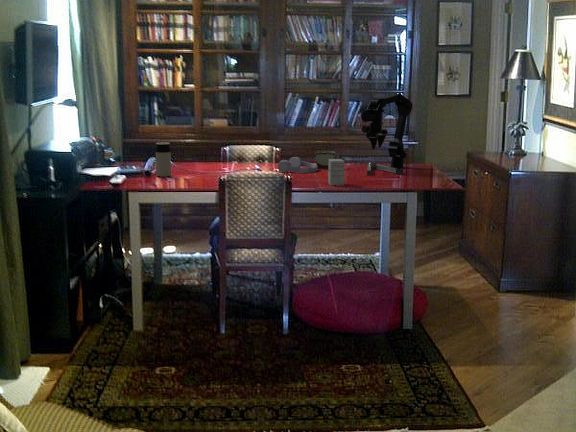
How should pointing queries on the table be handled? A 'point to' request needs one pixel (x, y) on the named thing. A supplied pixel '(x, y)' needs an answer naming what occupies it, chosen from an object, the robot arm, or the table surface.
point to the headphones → (296, 166)
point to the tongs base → (370, 167)
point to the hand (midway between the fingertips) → (376, 148)
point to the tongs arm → (389, 169)
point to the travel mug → (163, 159)
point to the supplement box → (336, 172)
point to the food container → (324, 158)
